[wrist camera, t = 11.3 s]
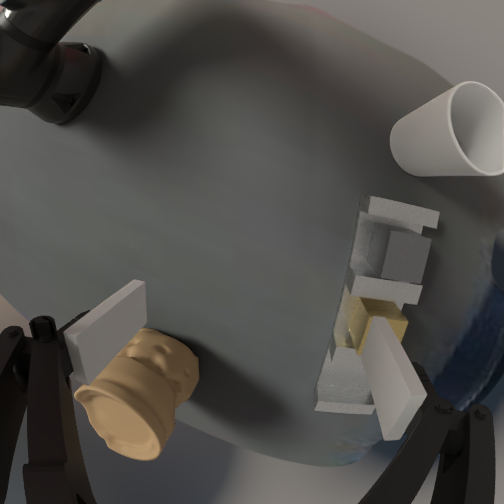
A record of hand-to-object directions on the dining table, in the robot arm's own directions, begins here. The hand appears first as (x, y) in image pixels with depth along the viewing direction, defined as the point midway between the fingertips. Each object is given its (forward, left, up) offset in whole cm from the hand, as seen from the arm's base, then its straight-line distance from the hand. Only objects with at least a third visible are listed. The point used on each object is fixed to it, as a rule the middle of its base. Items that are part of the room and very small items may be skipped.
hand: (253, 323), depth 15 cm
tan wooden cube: (+7, +14, -21) cm, 26 cm away
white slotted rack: (+7, +14, -22) cm, 27 cm away
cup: (-16, +16, -22) cm, 32 cm away
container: (+21, -15, -22) cm, 34 cm away
